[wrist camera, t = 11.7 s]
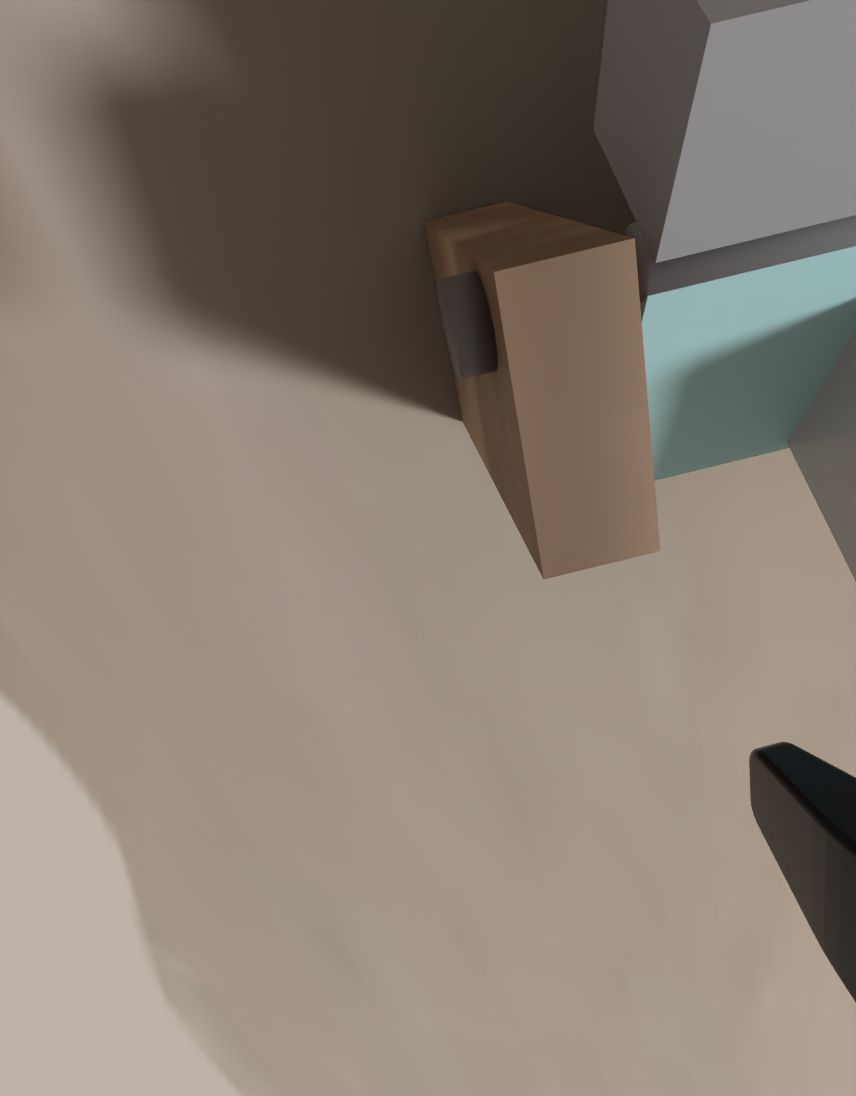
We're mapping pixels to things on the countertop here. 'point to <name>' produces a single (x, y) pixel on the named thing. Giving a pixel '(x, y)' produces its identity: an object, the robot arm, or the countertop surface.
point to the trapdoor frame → (552, 377)
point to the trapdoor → (734, 210)
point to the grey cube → (833, 451)
